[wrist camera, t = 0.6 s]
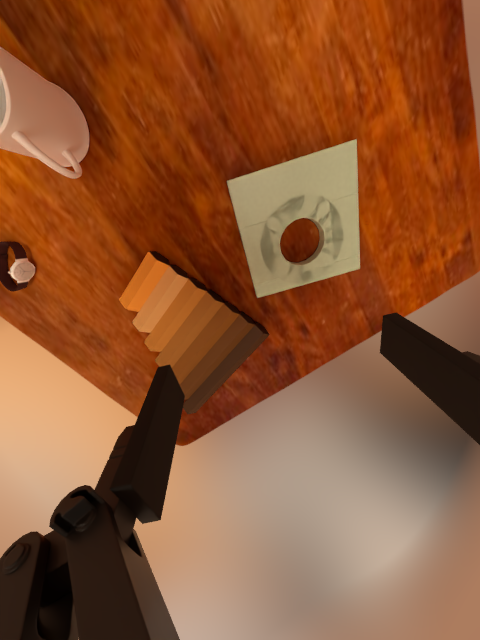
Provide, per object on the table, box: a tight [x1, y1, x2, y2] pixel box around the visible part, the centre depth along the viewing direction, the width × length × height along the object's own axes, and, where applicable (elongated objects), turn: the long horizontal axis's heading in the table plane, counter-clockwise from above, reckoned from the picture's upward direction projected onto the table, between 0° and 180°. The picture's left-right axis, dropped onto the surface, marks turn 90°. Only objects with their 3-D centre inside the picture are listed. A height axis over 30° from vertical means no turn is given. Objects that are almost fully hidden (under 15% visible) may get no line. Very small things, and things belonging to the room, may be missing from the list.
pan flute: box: [119, 251, 269, 414], centre depth 42 cm, size 25×3×25 cm
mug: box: [0, 47, 89, 179], centre depth 24 cm, size 12×8×12 cm
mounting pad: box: [227, 139, 360, 298], centre depth 35 cm, size 18×18×2 cm
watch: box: [0, 242, 35, 291], centre depth 34 cm, size 8×5×4 cm, turn 161°
